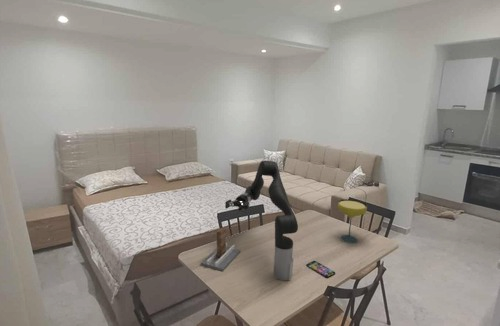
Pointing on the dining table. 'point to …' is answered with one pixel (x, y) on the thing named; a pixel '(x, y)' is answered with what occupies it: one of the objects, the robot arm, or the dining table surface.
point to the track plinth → (221, 259)
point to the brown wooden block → (221, 242)
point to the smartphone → (320, 269)
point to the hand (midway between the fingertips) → (232, 208)
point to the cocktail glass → (351, 214)
